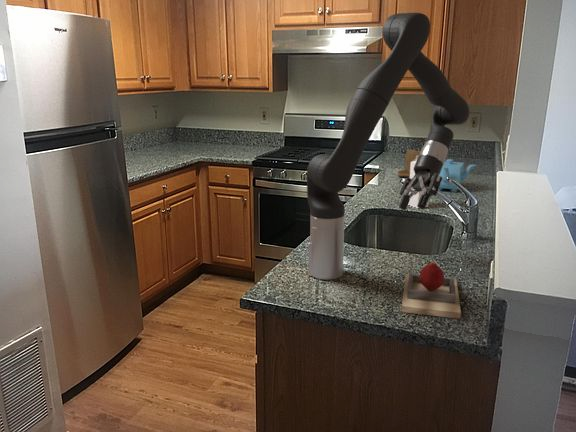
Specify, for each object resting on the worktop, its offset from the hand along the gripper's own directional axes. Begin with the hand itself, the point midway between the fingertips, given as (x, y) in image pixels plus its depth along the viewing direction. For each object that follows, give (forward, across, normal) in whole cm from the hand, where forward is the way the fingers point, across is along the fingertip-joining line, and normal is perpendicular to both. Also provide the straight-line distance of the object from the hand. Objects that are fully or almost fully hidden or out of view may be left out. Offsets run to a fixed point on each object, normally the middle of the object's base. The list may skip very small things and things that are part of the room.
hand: (411, 208), depth 138 cm
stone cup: (-56, -104, +61) cm, 133 cm away
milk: (-23, -53, +38) cm, 69 cm away
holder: (+24, +17, +4) cm, 29 cm away
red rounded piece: (+22, +17, +3) cm, 28 cm away
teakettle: (-45, -72, +62) cm, 105 cm away
